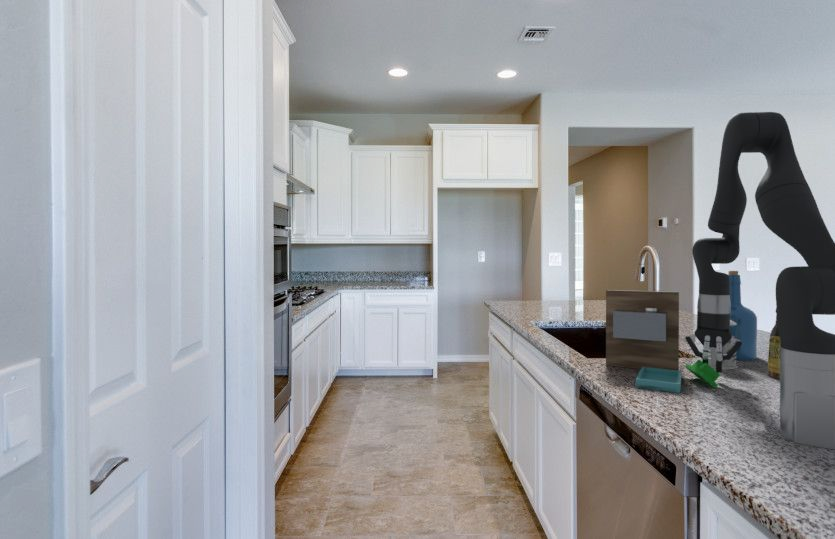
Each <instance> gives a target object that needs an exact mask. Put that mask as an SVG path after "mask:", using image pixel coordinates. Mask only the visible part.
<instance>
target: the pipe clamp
mask: <svg viewBox="0 0 835 539" xmlns="http://www.w3.org/2000/svg"><path fill="white" fill-rule="evenodd" d="M684 367H685V369H687V370H688V371H689V372H691V373H692V374H693V375H694V376H695V377H696V378H697V379H699V380H701V381H703V382H704V383H706V384H708V385H709V386H711V387H713V388H714V389H716V388H717V387H718V386H719V384H717V382H715V381H717V379H718V378H720V377H721V373H717V372H716V371H715V368H713V367H711V366H709V365H708V364H707V363H705V364H704V363H703V362H702V359H697V360H696V361H695V362H694V363H693V364H692V365H691V364H689V363H686V364H685V366H684Z"/></svg>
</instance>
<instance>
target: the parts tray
mask: <svg viewBox="0 0 835 539" xmlns="http://www.w3.org/2000/svg"><path fill="white" fill-rule="evenodd" d="M682 380H683V371H682V370H679V371H676V370H667V369H658V368H649V367H642V368H641V369H640V370H639V371H638V373H637V376H636V378H635V388H640V389H648V390H654V391H661V392H670V393H676V394H677V393H678V394H681V389H682Z"/></svg>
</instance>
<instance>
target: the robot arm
mask: <svg viewBox="0 0 835 539" xmlns="http://www.w3.org/2000/svg"><path fill="white" fill-rule="evenodd" d="M721 142H722V143H721V152H720V159H719V164H718V165H719V166H718V175H717V177H718V178H717V185H716V191H715V196H714V201H713V204H712V207H711V210H710V214H709V218H708V220H707V227H708V229H709V230H711V231H712V232H715V233H718V234H722V236H721V237H702V238H699V239H696V241H695V242H694V244H693V246H692V248H691V249H692V252H691V253H692V258H693V261H694V264H695V267H696V272H697V275H698V298H697V304H696V305H697V306H696V309H697V312H696V329H695V331H694V333H692V334H687V335H685V337H684V339H685V340H686V341H685V342H687V344H688V346H689V348H690V349H691V351H692V353H693V354H694V356H695V357H698V358H701V361H702V362H703V363H704V364H705V363H707V364H708V358H709V357H708V354H709V353H708V352H709V351H710V350H709V347H714V348H716V351H717V360H716V368H714V370H715V371H716V372H717V373H719V374H721V373H722V372H723V369H722V361H723V360H730V359H731V358H732V356H733V355H734V354H735V352H736V351H737V350H738V349H739V347H740V346H741V345H742V342H741V340H737V339H736V338H734V337H732V334H731V333H730V310H731V308H730V307H731V303H730V277H729V274H727V273H725V272H719V271H716V270H715V268H714V267H713V265H714V264H715V265H717V264H719V265H720V264H721V265H723V264H724V265H725V264H726V265H727V264H731V263H733V262H734V261H736V260H737V258H738V257H739V256H740V249H741V248H740V246H741V245H740V226H741V223H742V220H743V217H744V214H745V211H746V208H747V201H748V200H747V193H746V190H745V187H744V185H743V182H742V180H741V177H740V173H739V172H740V171H739V161H740V159H741V155H742V153H743V154H744V153H745V154H747V153H748V154H749V153H751V154H752V153H753V154H755V153H758V154H759V153H761V154H762V155H763V156H764V158H765V160H766V164H767V169H766V171H765V173H764V175H763V176H762V178H761V179H760V181H759V183H758V185H757V188H756V189H755V193H754V199H755V204H756V207H757V209H758V213H759V216H760V217H761V221H762V222H763V223H764V225H765V226H766V227H767V229H769V230H770V231H771V232H772V233H773V234H774V235H776V236H777V237H778V238H779V239H781V240H782V241H784V242H785V243H787V244H788V245H789V246H791V247H792V248H793V249H794V250H795V251H796V252H798V254H800V256H801V257H802V258H803V260H804V261H805V263H806V265H805V266H802V265H801V266H789V267H785V268H784V269H782V270H781V271H780V272H779V274H778V275H777V276H778V277H777V278H776V283H775V305H776V308H777V326H778V333H779V336H780V346H781V347H780V379H779V433H780V435H781V436H782V437H784V438H786V439H788V440H790V441H792V442H794V444H798V445H804V446H810V447H817V448H823V449H824V448H825V449H828V450H834V451H835V334H834V333H831V332H828V331H825V330H823V329H821V328H819V327H818V326H817V325H816V324H815V322H814V317H813V315H827V316H828V315H829V316H830V315H831V316H832V315H833V316H834V315H835V241H834V240H833V238H832V236H831V234H830V232H829V230H828V227H827V226H826V223H825V221H824V219H823V217H822V215H821V213H820V209H819V207H818V205H817V204H818V203H817V202H816V199H815V198H814V195H813V192H812V190H811V187H810V186H809V184H808V182H807V180H806V178H805V175H804V173H803V170H802V168H801V166H800V162H799V160H798V157H797V155H796V151H795V147H794V143H793V140H792V135H791V131H790V128H789V125H788V122H787V120H786V118H785V117H784V115H782V114H781V113H779V112H775V111H773V112H772V111H760V112H759V111H758V112H757V111H756V112H751V111H749V112H748V111H747V112H739V113H735V114H734V115H733V116H731V118H730V119H729V120H728V122H727V124H726V126H725V129H724V133H723V137H722V141H721ZM696 339H697V340H698V341H699V342H700V344H702V351H700V350H699V349H698V346H697V345H696V343H695V342H696ZM729 340H731V345H732V346H731V348H730V349H729V350H728V351H727V353H726V354H724V355H722V347H723V346H724V345H725V344H726V343H727V342H728V341H729Z"/></svg>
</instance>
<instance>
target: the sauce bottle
mask: <svg viewBox="0 0 835 539" xmlns="http://www.w3.org/2000/svg"><path fill="white" fill-rule="evenodd" d="M775 313H776V316H775V317H776V318H775V323H774V326H773V327H772V329H771V331H770V334H769V341H768V358H767V360H768V361H767V371H768V373H767V375H768V376H769V377H770V378H774V379H779V380H780V347H781V346H780V336H779V333H778V326H777V307H776V308H775Z"/></svg>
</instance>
